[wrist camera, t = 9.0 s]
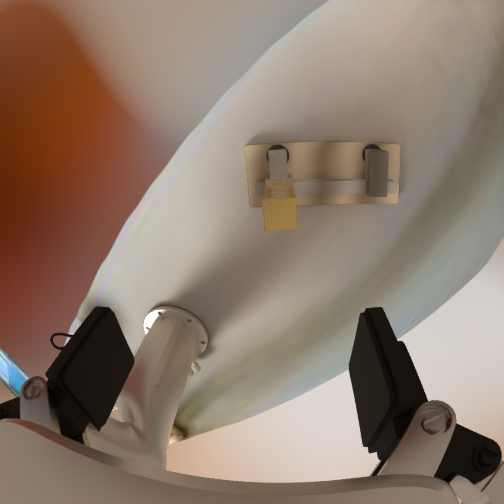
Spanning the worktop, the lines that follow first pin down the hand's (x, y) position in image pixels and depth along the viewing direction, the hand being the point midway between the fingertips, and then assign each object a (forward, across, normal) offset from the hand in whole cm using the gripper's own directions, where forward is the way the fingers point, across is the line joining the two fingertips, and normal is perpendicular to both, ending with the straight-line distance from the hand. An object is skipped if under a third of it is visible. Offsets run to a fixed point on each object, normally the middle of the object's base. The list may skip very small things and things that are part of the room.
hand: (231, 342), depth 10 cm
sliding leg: (+27, -2, -1) cm, 27 cm away
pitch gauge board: (+29, -8, -1) cm, 30 cm away
